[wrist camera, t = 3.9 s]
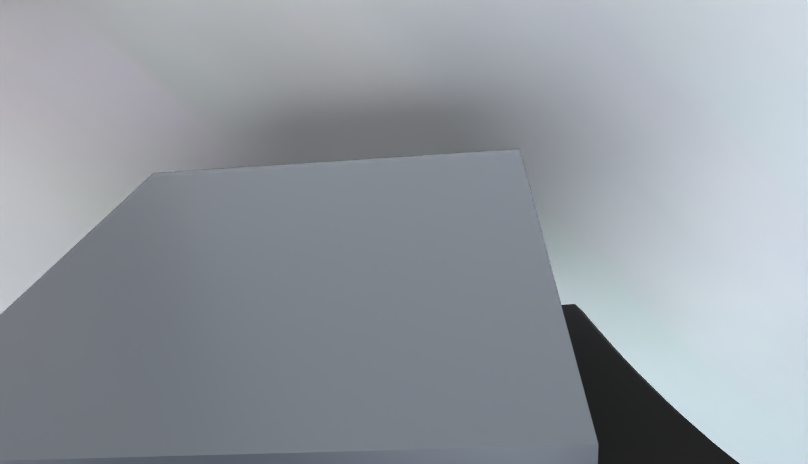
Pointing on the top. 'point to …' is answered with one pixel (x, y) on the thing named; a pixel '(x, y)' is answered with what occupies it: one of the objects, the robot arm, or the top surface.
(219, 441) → the grey crate
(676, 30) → the top surface
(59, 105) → the top surface
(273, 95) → the top surface
